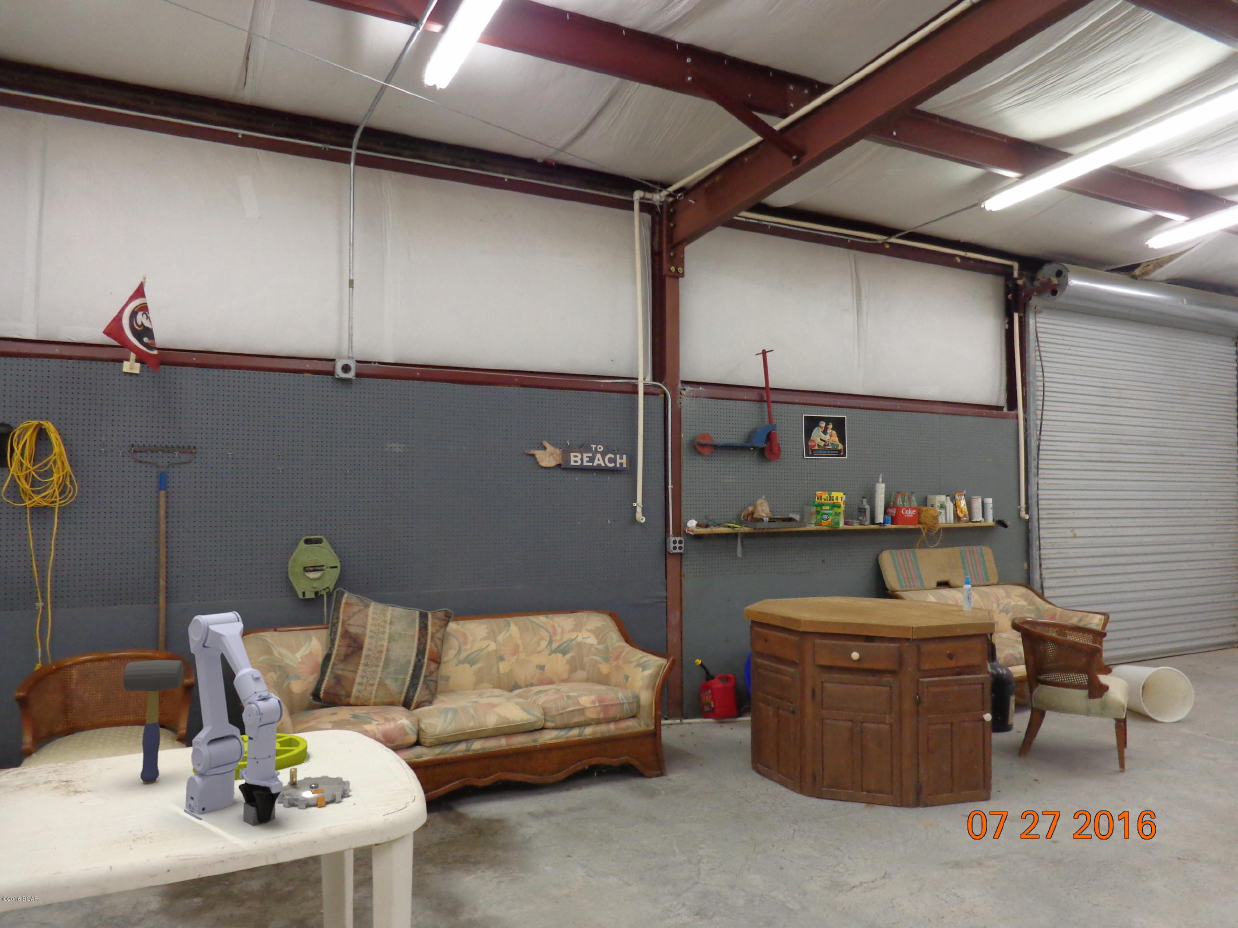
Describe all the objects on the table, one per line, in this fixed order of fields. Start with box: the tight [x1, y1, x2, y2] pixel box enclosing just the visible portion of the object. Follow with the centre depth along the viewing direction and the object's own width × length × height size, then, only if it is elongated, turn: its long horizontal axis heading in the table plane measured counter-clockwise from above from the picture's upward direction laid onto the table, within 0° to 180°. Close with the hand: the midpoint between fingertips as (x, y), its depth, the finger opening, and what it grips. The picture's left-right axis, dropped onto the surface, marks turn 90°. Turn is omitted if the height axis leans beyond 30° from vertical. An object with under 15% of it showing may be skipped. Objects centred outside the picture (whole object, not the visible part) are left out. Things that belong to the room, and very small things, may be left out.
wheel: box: [276, 767, 351, 810], centre depth 191 cm, size 16×16×6 cm
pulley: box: [192, 732, 308, 781], centre depth 218 cm, size 28×28×5 cm
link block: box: [242, 800, 277, 827], centre depth 176 cm, size 5×4×5 cm
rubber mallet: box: [122, 659, 184, 784], centre depth 202 cm, size 12×8×30 cm, turn 107°
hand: (259, 818), depth 176 cm, fingers closed on link block, 4 cm apart
